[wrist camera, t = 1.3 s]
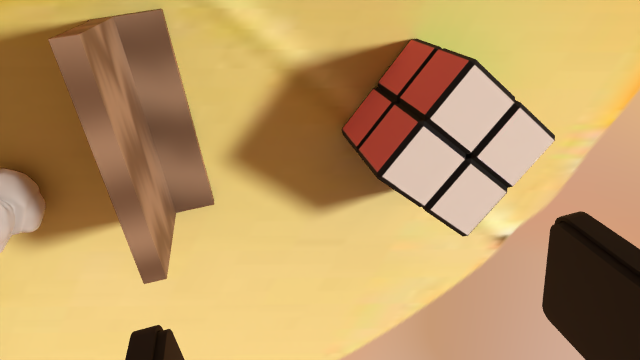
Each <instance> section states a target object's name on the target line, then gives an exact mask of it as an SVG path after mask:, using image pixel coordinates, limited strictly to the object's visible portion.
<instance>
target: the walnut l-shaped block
mask: <svg viewBox="0 0 640 360" xmlns="http://www.w3.org/2000/svg"><path fill="white" fill-rule="evenodd" d="M48 40H49V43H50V45H51V48H52V50H53V53H54V55H55V58H56V61H57V63H58V66H59V68H60V71H61V73H62V76H63V78H64V81H65V84H66V86H67V89H68V91H69V94H70V96H71V99H72V101H73V104H74V107H75V109H76V112H77V114H78V117H79V119H80V122H81V124H82V127H83V130H84V132H85V135H86V137H87V140H88V142H89V145H90V147H91V150H92V153H93V155H94V158H95V160H96V163H97V165H98V168H99V170H100V173H101V176H102V178H103V181H104V183H105V186H106V188H107V191H108V194H109V196H110V199H111V201H112V204H113V206H114V209H115V211H116V214H117V217H118V219H119V222H120V224H121V227H122V229H123V232H124V234H125V237H126V240H127V242H128V245H129V247H130V250H131V252H132V255H133V257H134V260H135V263H136V265H137V268H138V270H139V273H140V275H141V278H142V280H143V283H144V284H146V283H151V282H155V281H159V280H163V279H167V273H168V266H169V259H170V252H171V245H172V238H173V231H174V224H175V217H176V213H177V212H182V211H186V210H191V209H195V208H200V207H205V206H209V205H214V199H213V195H212V191H211V187H210V184H209V180H208V176H207V173H206V169H205V165H204V162H203V158H202V154H201V150H200V147H199V143H198V139H197V136H196V132H195V128H194V125H193V121H192V117H191V114H190V110H189V106H188V102H187V99H186V95H185V91H184V88H183V84H182V80H181V77H180V73H179V69H178V65H177V62H176V58H175V54H174V51H173V47H172V43H171V40H170V36H169V32H168V28H167V25H166V21H165V17H164V14H163V10H162V9H157V10H151V11H144V12H138V13H131V14H125V15H118V16H112V17H105V18H98V19H92V20H88V21H87V22H86V23H84V24H82V25H79V26H77V27H75V28H73V29H70V30H68V31H66V32H64V33H61V34H59V35H57V36H54V37H52V38H50V39H48Z"/></svg>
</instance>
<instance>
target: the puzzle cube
mask: <svg viewBox="0 0 640 360" xmlns="http://www.w3.org/2000/svg"><path fill="white" fill-rule="evenodd" d="M342 133H343V135H344V136H345V138H346V139H347V140H348V142H349V143H350V144H351V145H352V147H353V148H354V149H355V150H356V152H357V153H359V156H360V157H361V158H362V159H363V161H364V162H365V163H366V164H367V166H368V167H369V168H370V169H371V171H372V172H373V173H374V175H375V176H376V177H377V178H378V179H379V180H381V181H382V182H384V183H385V184H387V185H388V186H390V187H391V188H393V189H394V190H395V191H397V192H398V193H400V194H401V195H403V196H404V197H406V198H407V199H409V200H410V201H412V202H413V203H415V204H416V205H418V206H419V207H423V209H424V210H425V211H426V212H428V213H429V214H431V215H432V216H434V217H435V218H437V219H438V220H440V221H441V222H443V223H444V224H445V225H447V226H448V227H450V228H451V229H453V230H454V231H456V232H457V233H459V234H460V235H462V236H468V235H469V234H470V233H471V232H472V230H473V229H474V228H475V227H476V226H477V225H478V224H479V223H480V222H481V221H482V220H483V218H484V217H485V216H486V215H487V214H488V213H489V212H490V211H491V210H492V209H493V207H494V206H495V205H496V204H497V203H498V202H499V201H500V200H501V199H502V198H503V197H504V195H505V194H506V193H507V188H508V187H512V186H514V185H515V183H516V182H517V181H518V180H519V179H520V178H521V177H522V176H523V175H524V174H525V173H526V171H527V170H528V169H529V168H530V167H531V166H532V165H533V164H534V163H535V162H536V160H537V159H538V158H539V157H540V156H541V155H542V154H543V153H544V152H545V151H546V150H547V148H548V147H549V146H550V145H551V144H552V143H553V142H554V141H555V135H554V134H553V133H552V132H551V131H550V130H549V129H547V128H546V127H545V126H544V125H543V124H542V123H541V122H540V121H539V120H538V119H537V118H536V117H535V116H534V115H533V114H532V113H531V112H530V111H529V110H528V109H527V108H526V107H525V106H524V105H523V104H521V103H520V102H518V101H516V100H515V97H514V96H513V95H512V94H511V93H510V92H509V91H508V90H507V89H506V88H505V87H504V86H503V85H502V84H501V83H500V82H499V81H497V80H496V79H495V78H494V77H493V76H492V75H491V74H490V73H489V72H488V71H487V70H486V69H485V68H484V67H483V66H482V65H481V64H480V63H479V62H478V61H477V60H476V59H473V58H470V57H467V56H464V55H462V54H459V53H456V52H453V51H450V50H447V49H442V48H441V47H439V46H436V45H433V44H430V43H427V42H424V41H421V40H419V39H412V40H411V41H410V42H409V43H408V44H407V46H406V47H405V48H404V50H403V51H402V52H401V53H400V55H399V56H398V57H397V59H396V60H395V61H394V63H393V64H392V65H391V66H390V68H389V69H388V70H387V72H386V73H385V74H384V76H383V77H382V78H381V79H380V81H379V82H378V88H374V89H373V90H372V91H371V92H370V94H369V95H368V96H367V98H366V99H365V100H364V101H363V103H362V104H361V105H360V107H359V108H358V109H357V111H356V112H355V113H354V114H353V116H352V117H351V118H350V120H349V121H348V122H347V124H346V125H345V126H344V127H343V129H342Z"/></svg>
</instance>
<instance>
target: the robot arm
mask: <svg viewBox="0 0 640 360" xmlns="http://www.w3.org/2000/svg"><path fill="white" fill-rule="evenodd" d="M542 307H543V311H544V313H545V315H546V317H547V318H548V320H549V321H550V322H551V323H552V324H553V325H554V326H555V327H556V328H557V329H558V331H560V333H561V334H562V335H563V336H564V337H565V338H566V339H567V340H568V341H569V342H570V343H571V344H572V346H573V347H575V349H576V350H577V351H578V352H579V353H580V354H581V355H582V356H583V357H584V358H585V360H640V249H638V248H637V247H636V246H634V245H633V244H631V243H630V242H628V241H627V240H625V239H624V238H622V237H621V236H619V235H618V234H616V233H615V232H613V231H612V230H611V229H609V228H607V227H606V226H605V225H603V224H602V223H600V222H599V221H597V220H596V219H594V218H593V217H591V216H590V215H588V214H587V213H585V212H577V213H573V214H569V215H565V216H561V217H559V218H557V219H556V221H555V224H554V225H552V227H551V229H550V237H549V247H548V256H547V266H546V275H545V285H544V294H543V304H542ZM125 360H184V358H183V356H182V353H181V351H180V349H179V346H178V344H177V342H176V339H175V337H174V335H173V333H172V331H171V330H170V329H167V330H163V329H162V327H161V326H160V325H157V326H153V327H149V328H145V329H142V330H138V331H134V332H133V333H132V334H131V337H130V341H129V346H128V350H127V355H126V359H125Z"/></svg>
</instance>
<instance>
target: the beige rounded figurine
mask: <svg viewBox="0 0 640 360" xmlns="http://www.w3.org/2000/svg"><path fill="white" fill-rule="evenodd" d="M45 207H46V205H45V201H44V198H43V197H42V195H41V194H40V192H39V187H38V185H37V184H36V183H35V182H34V181H33V180H32V179H31V178H30V177H29V176H27V175H26V174H24V173H21V172H18V171H14V170H10V169H4V168H2V169H0V253H1V252H2V251H3V250H4V248H5V246H6V244H7V242H8V240H9V239H10V237H11V236H12V235H14V234H19V233H23V232H33V231H35V230H37V229H38V228H39V227H40V225H41V222H42V220H43V216H44V212H45Z"/></svg>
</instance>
